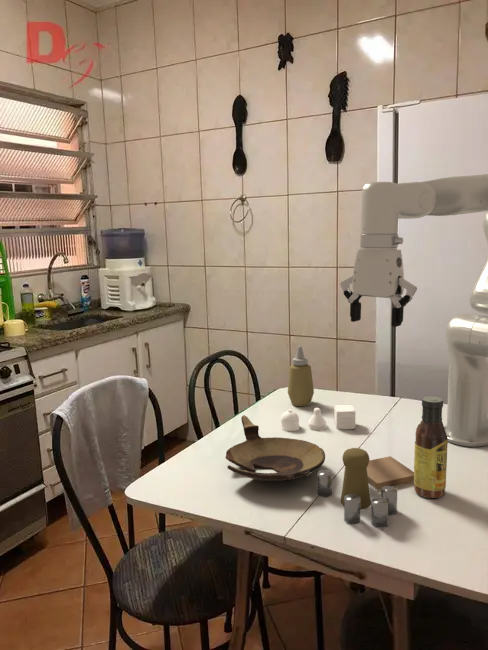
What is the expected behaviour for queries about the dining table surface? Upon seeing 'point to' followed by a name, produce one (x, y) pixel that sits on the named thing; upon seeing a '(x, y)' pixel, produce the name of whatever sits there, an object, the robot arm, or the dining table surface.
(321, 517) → the dining table surface
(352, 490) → the olive pawn
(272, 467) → the broken ceramic bowl
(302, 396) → the squeeze bottle
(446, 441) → the sauce bottle
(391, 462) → the walnut board
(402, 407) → the dining table surface
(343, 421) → the container set
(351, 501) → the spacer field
